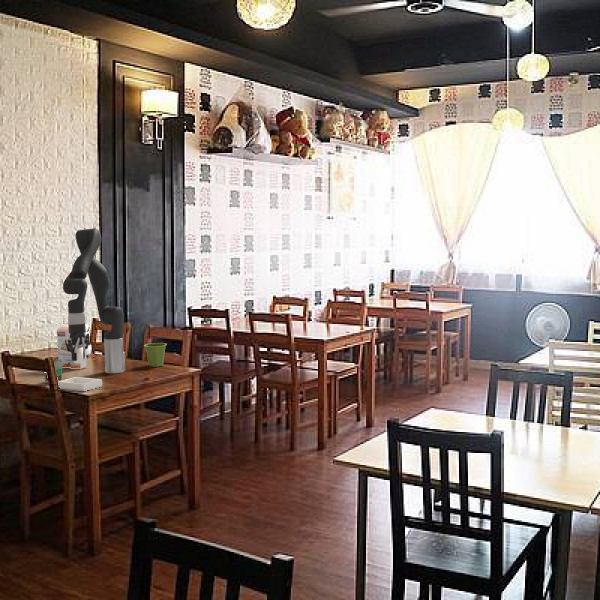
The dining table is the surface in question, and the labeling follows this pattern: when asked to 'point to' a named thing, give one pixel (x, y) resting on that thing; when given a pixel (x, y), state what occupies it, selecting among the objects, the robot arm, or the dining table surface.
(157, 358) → the plant pot
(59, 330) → the cracker box
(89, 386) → the tray
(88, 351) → the milk container
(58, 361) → the food container
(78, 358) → the shaker
